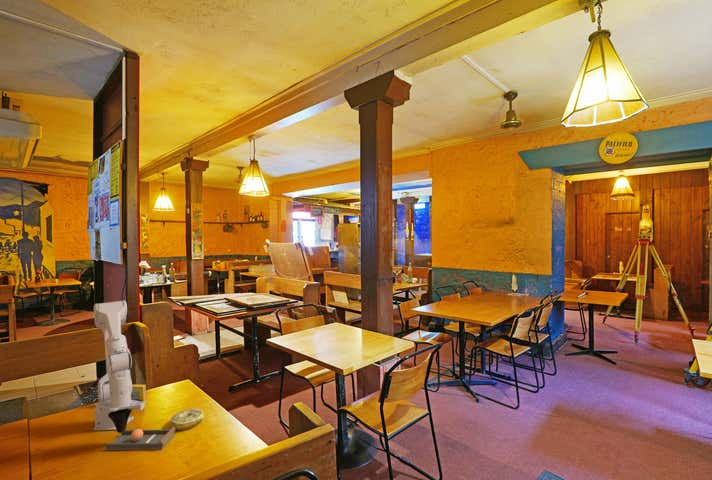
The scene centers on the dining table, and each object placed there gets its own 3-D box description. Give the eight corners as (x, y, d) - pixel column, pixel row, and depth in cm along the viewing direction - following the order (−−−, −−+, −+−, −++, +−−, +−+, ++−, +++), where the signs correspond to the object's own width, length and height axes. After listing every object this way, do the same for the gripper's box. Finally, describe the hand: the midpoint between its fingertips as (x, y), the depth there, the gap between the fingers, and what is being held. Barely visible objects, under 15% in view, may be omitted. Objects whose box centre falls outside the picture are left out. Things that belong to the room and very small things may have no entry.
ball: (127, 443, 112) (127, 432, 112) (135, 437, 115) (134, 426, 115) (139, 443, 112) (138, 432, 112) (145, 437, 115) (145, 426, 115)
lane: (105, 450, 110) (105, 442, 110) (122, 435, 118) (122, 427, 118) (162, 449, 110) (161, 441, 110) (175, 434, 118) (175, 427, 118)
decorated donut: (209, 420, 127) (209, 410, 127) (182, 435, 117) (182, 424, 117) (191, 413, 132) (191, 403, 132) (164, 427, 122) (164, 416, 122)
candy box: (104, 406, 138) (103, 386, 138) (108, 403, 140) (107, 383, 140) (143, 406, 137) (142, 386, 137) (147, 404, 139) (146, 383, 139)
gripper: (88, 396, 109) (90, 438, 110) (134, 395, 109) (135, 437, 109) (104, 386, 116) (106, 426, 117) (147, 385, 116) (149, 425, 117)
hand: (121, 431), depth 113 cm, fingers closed
